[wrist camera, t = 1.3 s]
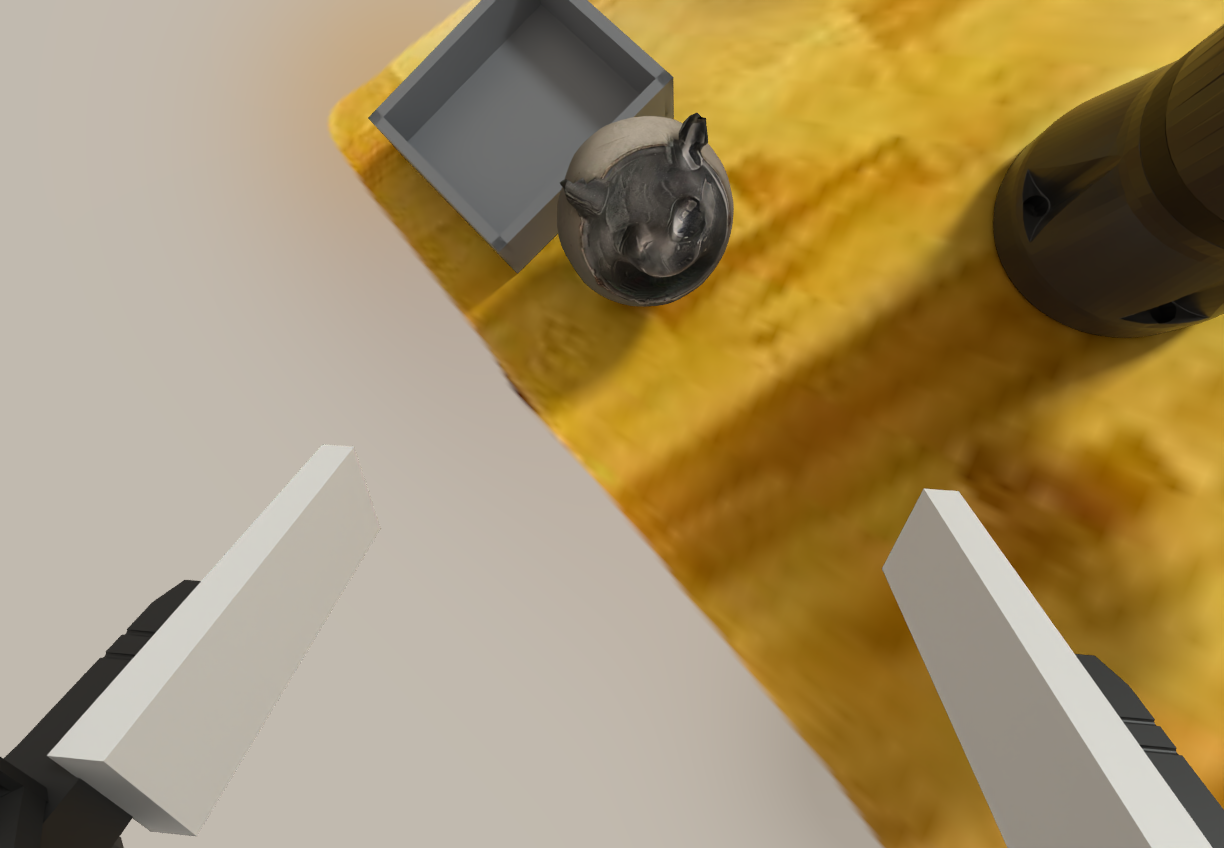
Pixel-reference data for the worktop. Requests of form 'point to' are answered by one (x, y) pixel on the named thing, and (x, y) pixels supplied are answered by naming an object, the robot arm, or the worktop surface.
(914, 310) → the worktop surface
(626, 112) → the tray
